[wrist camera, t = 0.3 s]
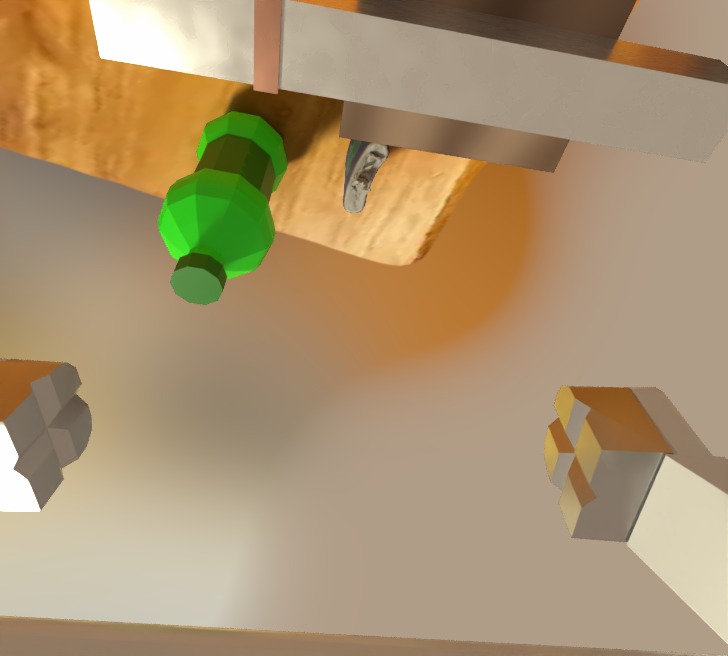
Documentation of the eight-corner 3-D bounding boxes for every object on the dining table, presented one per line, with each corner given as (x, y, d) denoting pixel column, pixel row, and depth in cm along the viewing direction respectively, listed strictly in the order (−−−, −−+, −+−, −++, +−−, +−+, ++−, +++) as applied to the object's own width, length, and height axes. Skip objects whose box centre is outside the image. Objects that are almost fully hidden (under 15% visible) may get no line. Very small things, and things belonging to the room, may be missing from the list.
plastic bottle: (256, 196, 65) (213, 344, 48) (185, 136, 60) (107, 280, 42) (311, 146, 60) (284, 292, 43) (239, 76, 55) (175, 211, 37)
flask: (362, 175, 63) (359, 227, 55) (339, 166, 62) (333, 218, 55) (392, 104, 56) (394, 152, 49) (367, 94, 56) (365, 141, 48)
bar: (129, 33, 28) (99, 63, 25) (114, -66, 25) (78, -45, 22) (672, 130, 31) (704, 168, 28) (720, 54, 28) (761, 87, 25)
